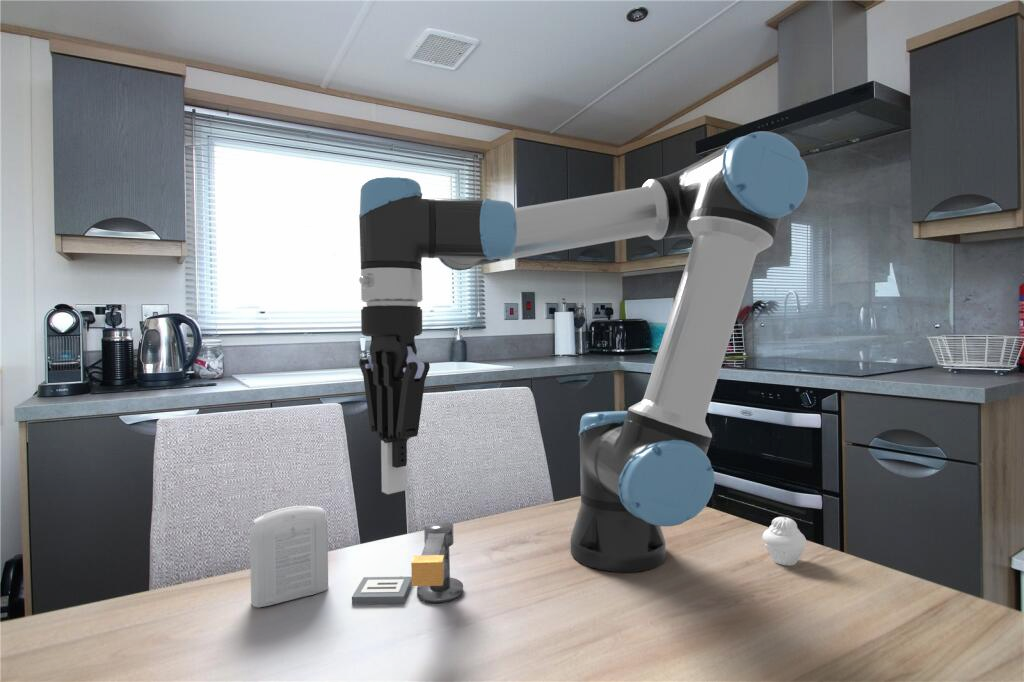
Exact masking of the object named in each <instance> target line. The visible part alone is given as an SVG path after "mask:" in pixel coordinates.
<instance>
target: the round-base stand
mask: <svg viewBox="0 0 1024 682" xmlns="http://www.w3.org/2000/svg"><path fill="white" fill-rule="evenodd" d="M450 554H451V553H450V547H447V548H445V552H444V582H443V586H416V596H417V599H419V601H421V602H423V603H426V604H432V605H442V604H443V605H444V604H448V603H451V602H454V601H456V600H458V599H459V598H461V597H462V596H463V595H464V583H463V582H462V581H461V580H460V579H458V578H455V577H451V568H450V567H451V566H450V564H451V563H450V562H451V561H450Z"/></svg>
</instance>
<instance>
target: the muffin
mask: <svg viewBox="0 0 1024 682" xmlns="http://www.w3.org/2000/svg"><path fill="white" fill-rule="evenodd" d="M762 540H763V542H764V546H765V548H766V549H767V551H768V553H769V555H770V557H771V559H772V561H773V562H774V563H776V564H778V565H781V566H786V567H787V566H789V567H790V566H795V565H796V564H797V562H798V560H800V558H801V556H802V555H803V553H804V552H805V547H806V546H807V539H806V537H805V535H804V534H803V533H802V532H801V531H800V529H799V528H798V524H797V522H796V521H795V520H794V519H792V518H791V517H786V516H778V517H775V518H773V519H772V520H771V525H769V527H768V528H767V529H766V530H764V531H763V533H762Z"/></svg>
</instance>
